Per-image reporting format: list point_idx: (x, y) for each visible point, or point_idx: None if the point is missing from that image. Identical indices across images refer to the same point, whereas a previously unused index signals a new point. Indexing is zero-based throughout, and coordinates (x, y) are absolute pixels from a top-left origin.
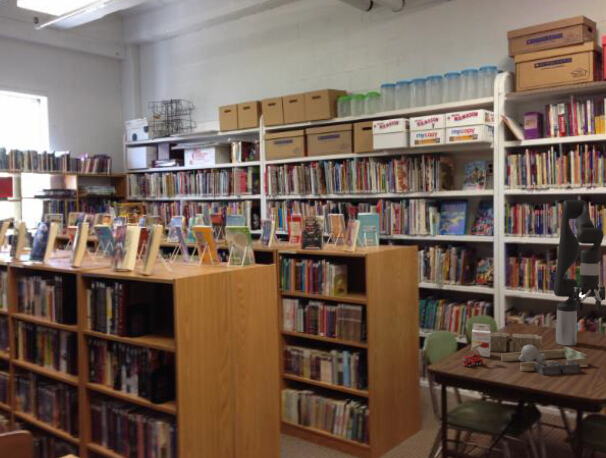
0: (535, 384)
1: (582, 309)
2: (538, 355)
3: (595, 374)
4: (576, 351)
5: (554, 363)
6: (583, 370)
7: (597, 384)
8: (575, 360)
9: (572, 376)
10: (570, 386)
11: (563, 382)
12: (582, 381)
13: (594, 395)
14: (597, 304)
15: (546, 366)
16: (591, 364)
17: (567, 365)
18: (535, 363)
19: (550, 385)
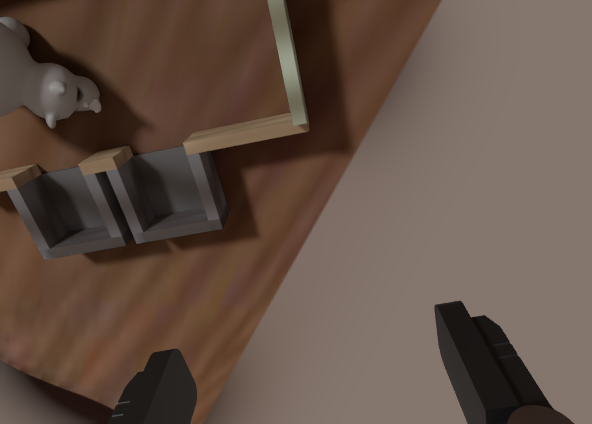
0: (22, 334)
1: (184, 415)
2: (28, 107)
3: (284, 239)
4: (279, 40)
5: (105, 210)
6: (258, 183)
7: (237, 342)
8: (234, 144)
9: (180, 259)
10: (138, 355)
11: (125, 320)
12: (197, 313)
13: None
14: (467, 401)
15: (59, 254)
16: (346, 82)
17: (160, 239)
18: (13, 201)
19: (73, 344)
